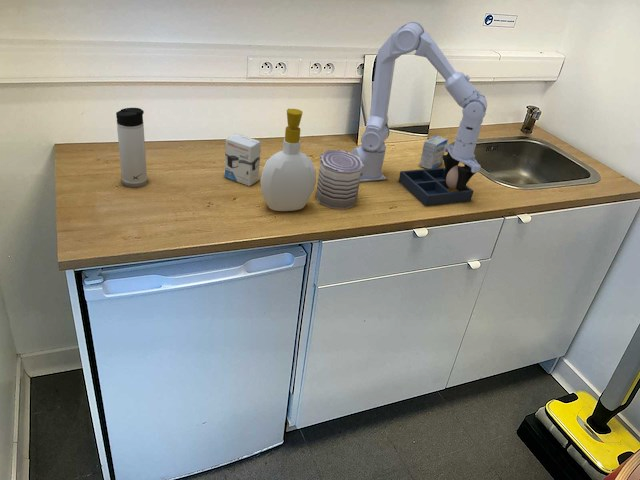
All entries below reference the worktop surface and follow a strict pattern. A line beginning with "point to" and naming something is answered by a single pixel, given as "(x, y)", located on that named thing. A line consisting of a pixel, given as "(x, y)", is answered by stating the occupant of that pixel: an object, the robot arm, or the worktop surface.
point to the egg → (452, 178)
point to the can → (338, 179)
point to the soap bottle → (288, 171)
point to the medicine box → (433, 152)
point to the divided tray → (432, 187)
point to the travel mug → (132, 146)
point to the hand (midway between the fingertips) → (454, 184)
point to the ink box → (242, 159)
